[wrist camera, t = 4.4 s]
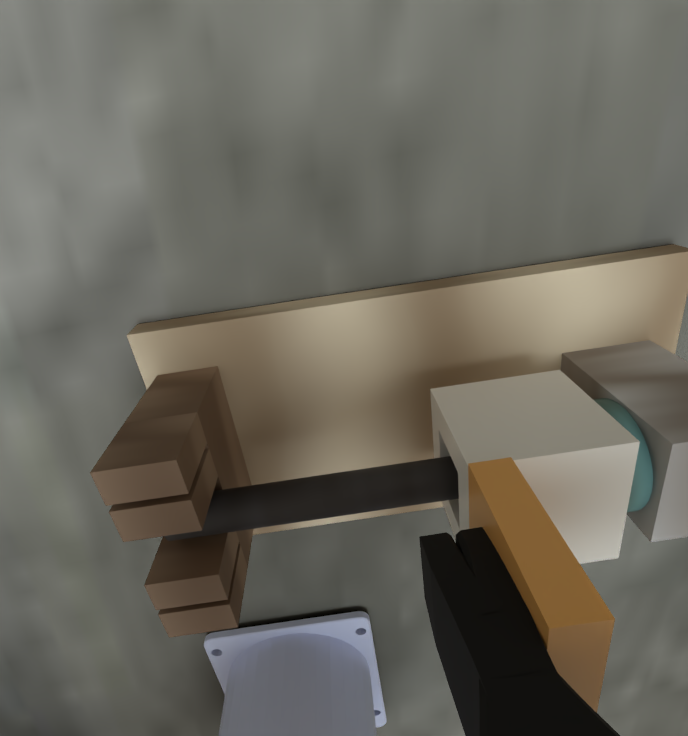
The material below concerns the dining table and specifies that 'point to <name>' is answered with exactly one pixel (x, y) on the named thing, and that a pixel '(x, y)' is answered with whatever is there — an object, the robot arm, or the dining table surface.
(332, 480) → the board
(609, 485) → the sleeve
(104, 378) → the dining table surface
